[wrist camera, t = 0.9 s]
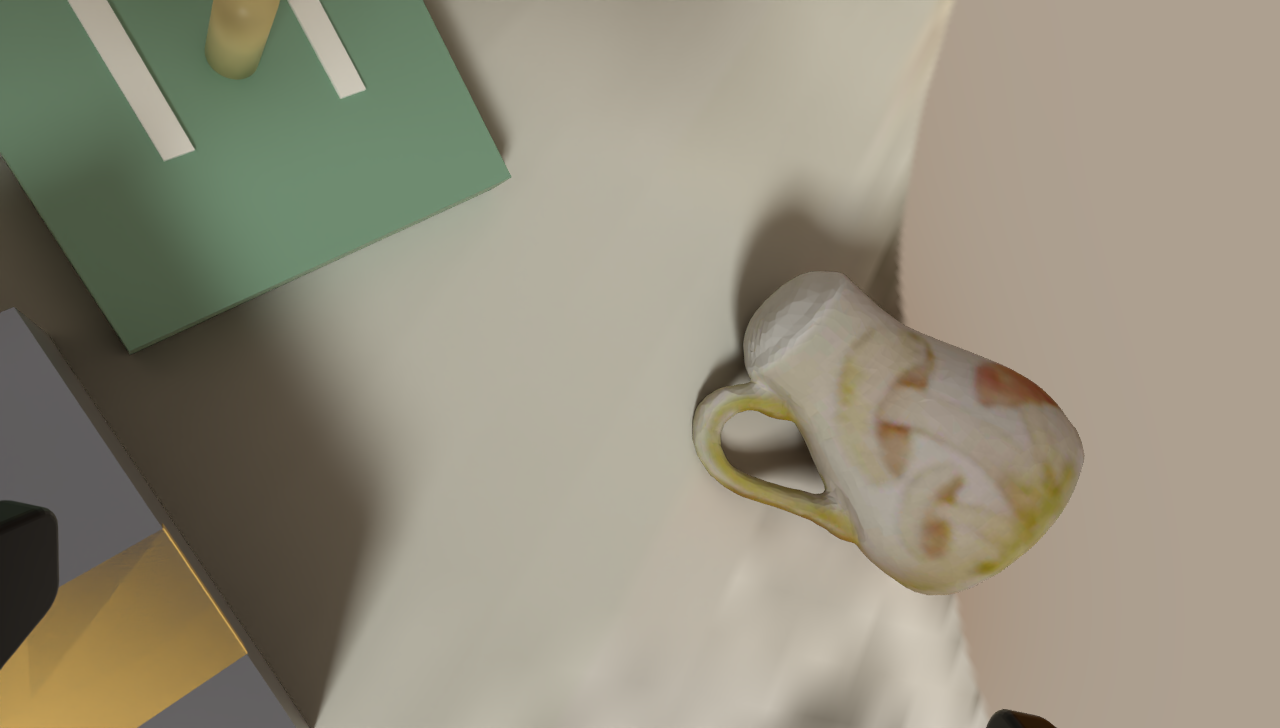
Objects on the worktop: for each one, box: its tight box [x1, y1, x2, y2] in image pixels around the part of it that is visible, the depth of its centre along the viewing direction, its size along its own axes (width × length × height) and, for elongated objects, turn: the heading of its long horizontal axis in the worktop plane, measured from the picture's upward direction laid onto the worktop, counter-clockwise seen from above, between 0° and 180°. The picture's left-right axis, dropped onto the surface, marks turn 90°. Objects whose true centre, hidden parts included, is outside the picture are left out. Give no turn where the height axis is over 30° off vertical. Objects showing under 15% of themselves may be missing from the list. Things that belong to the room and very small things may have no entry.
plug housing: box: [0, 307, 310, 728], centre depth 14 cm, size 5×10×5 cm, turn 29°
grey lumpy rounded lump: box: [693, 271, 1084, 595], centre depth 24 cm, size 8×10×10 cm
